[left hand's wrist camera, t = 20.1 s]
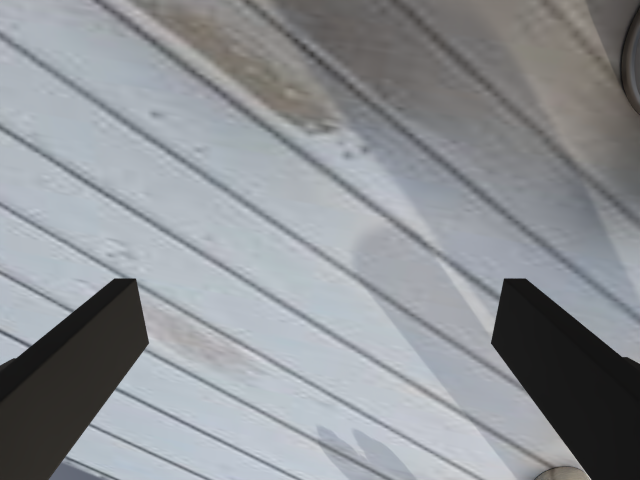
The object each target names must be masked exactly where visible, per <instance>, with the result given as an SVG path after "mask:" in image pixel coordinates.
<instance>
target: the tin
mask: <svg viewBox="0 0 640 480" xmlns="http://www.w3.org/2000/svg"><path fill="white" fill-rule="evenodd" d="M535 480H590V479H589V478H588V476H587V475H586V474H585V473H584V472H583V471H581V470H580V469H577V468H574V467H558V468H553V469H550V470H548V471H546V472H544V473H542V474H541V475H539V476H538V477H537V478H536V479H535Z"/></svg>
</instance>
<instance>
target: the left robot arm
mask: <svg viewBox="0 0 640 480" xmlns="http://www.w3.org/2000/svg"><path fill="white" fill-rule="evenodd" d="M622 81H623V86H624V90H625V93H626V96H627V98H628V100H629V102H630V103H631V105H632V106H633V108H634V109H635V110H636V111H637V113H638V114H640V8H639V10H638V12H637V14H636V16H635V17H634V19H633V22H632V24H631V26H630V29H629V31H628V34H627V37H626V41H625V45H624V49H623V55H622ZM148 344H149V341H148V336H147V331H146V326H145V321H144V316H143V311H142V306H141V301H140V296H139V291H138V286H137V281H136V279H113V280H112V281H111V282H110V283H108V284H107V285H106V286H105V287H103V288H102V289H101V290H100V291H99V292H97V293H96V294H95V295H94V296H92V297H91V298H90V299H89V300H87V301H86V302H85V303H84V304H83V305H81V306H80V307H79V308H78V309H76V310H75V311H74V312H73V313H72V314H70V315H69V316H68V317H67V318H65V319H64V320H63V321H62V322H60V323H59V324H58V325H57V326H56V327H54V328H53V329H52V330H51V331H49V332H48V333H47V334H46V335H44V336H43V337H42V338H41V339H40V340H38V341H37V342H36V343H35V344H33V345H32V346H31V347H30V348H28V349H27V350H26V351H25V352H24V353H22V354H21V355H20V356H19V357H17V358H13V359H11V360H9V361H8V362H6V363H4V364H2V365H0V480H49V478H50V477H51V475H52V474H53V473H54V471H55V470H56V469H57V467H58V466H59V465H60V463H61V462H62V461H63V459H64V458H65V456H66V455H67V454H68V452H69V451H70V450H71V448H72V447H73V446H74V444H75V443H76V442H77V440H78V439H79V438H80V436H81V435H82V433H83V432H84V431H85V429H86V428H87V427H88V425H89V424H90V423H91V421H92V420H93V419H94V417H95V416H96V414H97V413H98V412H99V410H100V409H101V408H102V406H103V405H104V404H105V402H106V401H107V400H108V398H109V397H110V395H111V394H112V393H113V391H114V390H115V389H116V387H117V386H118V385H119V383H120V382H121V381H122V379H123V378H124V376H125V375H126V374H127V372H128V371H129V370H130V368H131V367H132V366H133V364H134V363H135V362H136V360H137V359H138V357H139V356H140V355H141V353H142V352H143V351H144V349H145V348H146V347H147V345H148ZM491 344H492V345H493V347H494V348H495V349H496V351H497V352H498V353H499V355H500V356H501V357H502V359H503V360H504V362H505V363H506V364H507V366H508V367H509V368H510V370H511V371H512V372H513V374H514V375H515V376H516V378H517V379H518V381H519V382H520V383H521V385H522V386H523V387H524V389H525V390H526V391H527V393H528V394H529V395H530V397H531V398H532V400H533V401H534V402H535V404H536V405H537V406H538V408H539V409H540V410H541V412H542V413H543V414H544V416H545V417H546V419H547V420H548V421H549V423H550V424H551V425H552V427H553V428H554V429H555V431H556V432H557V433H558V435H559V436H560V438H561V439H562V440H563V442H564V443H565V444H566V446H567V447H568V448H569V450H570V451H571V452H572V454H573V455H574V456H575V458H576V459H577V461H578V462H579V463H580V465H581V466H582V467H583V469H584V470H585V471H586V473H587V474H588V475H589V477H590V478H591V480H640V364H639V363H637V362H635V361H633V360H631V359H630V358H628V357H621V356H620V355H619V354H618V353H616V352H615V351H614V350H613V349H612V348H610V347H609V346H608V345H607V344H605V343H604V342H603V341H602V340H600V339H599V338H598V337H597V336H596V335H594V334H593V333H592V332H591V331H589V330H588V329H587V328H586V327H584V326H583V325H582V324H581V323H580V322H578V321H577V320H576V319H575V318H573V317H572V316H571V315H570V314H568V313H567V312H566V311H565V310H564V309H562V308H561V307H560V306H559V305H557V304H556V303H555V302H554V301H553V300H551V299H550V298H549V297H548V296H546V295H545V294H544V293H543V292H541V291H540V290H539V289H538V288H537V287H535V286H534V285H533V284H532V283H530V282H529V281H528V280H527V279H504V281H503V286H502V291H501V296H500V301H499V306H498V311H497V316H496V321H495V326H494V331H493V336H492V341H491Z"/></svg>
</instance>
